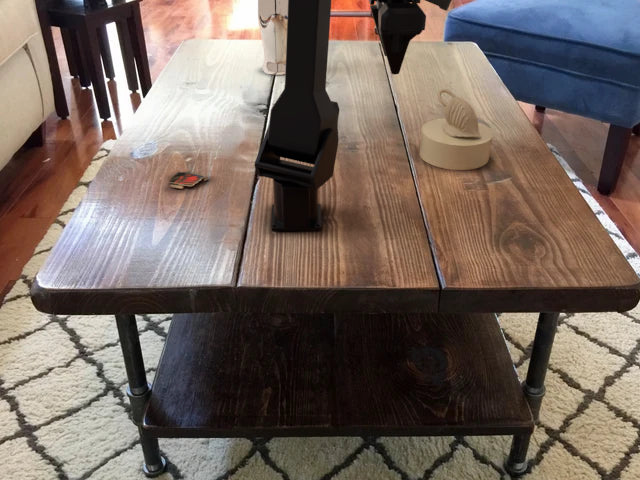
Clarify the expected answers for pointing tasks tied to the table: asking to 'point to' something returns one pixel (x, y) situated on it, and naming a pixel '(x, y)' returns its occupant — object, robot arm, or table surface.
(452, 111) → the decorative ornament
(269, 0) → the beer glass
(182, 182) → the matchbox
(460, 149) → the ceramic puck
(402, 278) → the table surface
